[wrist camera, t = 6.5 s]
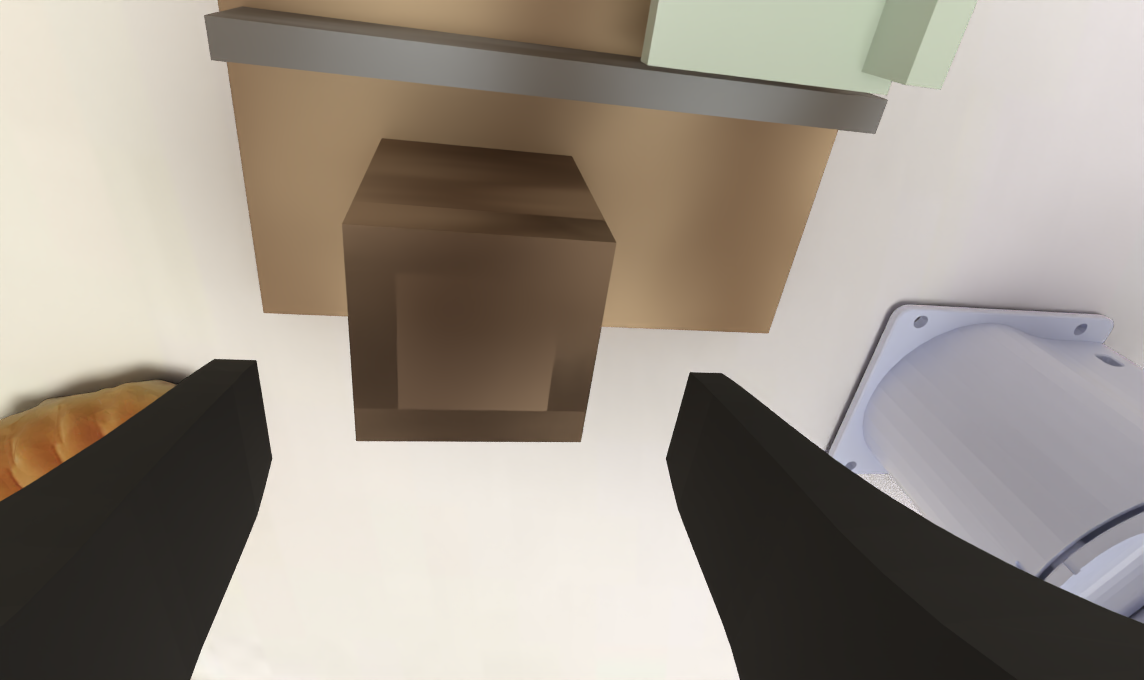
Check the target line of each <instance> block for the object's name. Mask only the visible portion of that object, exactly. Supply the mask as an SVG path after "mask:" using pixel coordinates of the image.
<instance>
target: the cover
mask: <svg viewBox="0 0 1144 680" xmlns="http://www.w3.org/2000/svg"><path fill="white" fill-rule="evenodd" d="M977 1H978V0H651V3H650V9H649V15H648V21H647V26H646V32H645V38H644V44H643V49H642V55H641V62H643V63H645V64H646V65H650V66H658V67H666V68H674V69H682V70H690V71H698V72H706V73H714V74H722V75H730V76H738V77H746V78H754V79H762V80H770V81H778V82H786V83H794V84H802V85H810V86H818V87H826V88H834V89H842V90H850V91H858V92H866V93H874V94H882V95H887V93H888V91H889V88H890V85H891V83H892V81H894V82H897V83H900V84H904V85H909V86H917V87H925V88H932V89H940V90H941V88H942V85H943V83H944V80H945V78H946V76H947V73H948V71H949V68H950V66H951V63H952V61H953V59H954V56H955V54H956V51H957V49H958V47H959V44H960V42H961V39H962V37H963V34H964V32H965V30H966V27H967V25H968V22H969V20H970V18H971V15H972V13H973V10H974V8H975V5H976V3H977Z"/></svg>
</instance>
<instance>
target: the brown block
mask: <svg viewBox="0 0 1144 680" xmlns="http://www.w3.org/2000/svg"><path fill="white" fill-rule="evenodd" d="M342 233H343V248H344V264H345V279H346V294H347V309H348V325H349V340H350V355H351V370H352V386H353V401H354V416H355V431H356V441H456V442H581V438H582V432H583V427H584V421H585V415H586V410H587V404H588V399H589V393H590V388H591V382H592V377H593V371H594V365H595V360H596V354H597V349H598V343H599V338H600V332H601V327H602V321H603V315H604V310H605V304H606V299H607V293H608V288H609V282H610V277H611V271H612V265H613V260H614V254H615V249H616V241H615V239H614V237H613V235H612V233H611V231H610V229H609V227H608V225H607V223H606V221H605V219H604V217H603V215H602V214H601V212H600V210H599V208H598V206H597V204H596V202H595V200H594V198H593V196H592V194H591V192H590V190H589V188H588V186H587V184H586V182H585V180H584V179H583V177H582V175H581V173H580V171H579V169H578V167H577V165H576V163H575V161H574V159H573V157H572V156H566V155H556V154H545V153H534V152H524V151H513V150H503V149H492V148H481V147H471V146H460V145H450V144H439V143H429V142H418V141H407V140H397V139H386V138H382V139H381V141H380V143H379V145H378V147H377V149H376V152H375V154H374V156H373V158H372V160H371V162H370V164H369V167H368V169H367V171H366V173H365V175H364V177H363V180H362V182H361V184H360V186H359V188H358V190H357V193H356V195H355V197H354V199H353V201H352V203H351V206H350V208H349V210H348V212H347V214H346V216H345V218H344V221H343V223H342Z"/></svg>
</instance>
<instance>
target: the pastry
mask: <svg viewBox="0 0 1144 680" xmlns="http://www.w3.org/2000/svg"><path fill="white" fill-rule="evenodd" d="M175 386H176V384H173V383H170V382H166V381H163V380H150V381H141V382H132V383H125V384H122V385H119V386H117V387H114V388H104V389H101V390H99V391H97V392H91V393H85V394H78V395H72V396H62V397H57V398H51V399H46V400H44V401H43V402H41V403H40V404H39V405H38V406H36V407H34V408H32V409H29V410H27V411H24V412H21V413H18V414H15V415H11V416H9V417H6V418H4V419H1V420H0V501H2V500H3V499H5V498H7V497H9V496H10V495H12V494H14V493H15V492H17V491H19V490H20V489H22V488H24V487H25V486H27V485H29V484H30V483H32V482H34V481H35V480H37V479H38V478H40V477H41V476H43V475H44V474H46V473H48V472H49V471H51V470H52V469H54V468H55V467H57V466H59V465H60V464H62V463H63V462H65V461H66V460H68V459H69V458H71V457H73V456H74V455H76V454H77V453H79V452H80V451H82V450H84V449H85V448H87V447H88V446H90V445H91V444H93V443H94V442H96V441H98V440H99V439H101V438H102V437H104V436H105V435H107V434H108V433H109V432H111V431H112V430H114V429H115V428H117V427H118V426H119V425H121V424H122V423H124V422H125V421H127V420H128V419H129V418H131V417H132V416H134V415H135V414H137V413H138V412H139V411H141V410H142V409H144V408H145V407H147V406H148V405H149V404H151V403H152V402H154V401H155V400H157V399H158V398H159V397H161V396H162V395H163V394H165V393H166V392H168V391H169V390H170V389H172V388H173V387H175Z"/></svg>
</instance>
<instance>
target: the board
mask: <svg viewBox="0 0 1144 680" xmlns="http://www.w3.org/2000/svg"><path fill="white" fill-rule="evenodd" d="M650 3H651V0H218V6H219V12H216V13H212V14H208V15H204V17H205V24H206V30H207V36H208V43H209V49H210V55H211V60H215V61H224V62H227V67H228V74H229V81H230V87H231V94H232V101H233V108H234V114H235V121H236V128H237V135H238V142H239V148H240V155H241V162H242V169H243V176H244V182H245V189H246V196H247V203H248V210H249V216H250V223H251V230H252V237H253V244H254V250H255V257H256V264H257V271H258V278H259V284H260V291H261V298H262V305H263V312H264V313H278V314H302V315H327V316H348V309H347V294H346V279H345V264H344V248H343V233H342V223H343V221H344V218H345V216H346V214H347V212H348V210H349V208H350V206H351V203H352V201H353V199H354V197H355V195H356V193H357V190H358V188H359V186H360V184H361V182H362V180H363V177H364V175H365V173H366V171H367V169H368V167H369V164H370V162H371V160H372V158H373V156H374V154H375V152H376V149H377V147H378V145H379V143H380V141H381V139H382V138H386V139H397V140H407V141H418V142H429V143H439V144H450V145H460V146H471V147H481V148H492V149H503V150H513V151H524V152H534V153H545V154H556V155H566V156H572V157H573V159H574V161H575V163H576V165H577V167H578V169H579V171H580V173H581V175H582V177H583V179H584V180H585V182H586V184H587V186H588V188H589V190H590V192H591V194H592V196H593V198H594V200H595V202H596V204H597V206H598V208H599V210H600V212H601V214H602V215H603V217H604V219H605V221H606V223H607V225H608V227H609V229H610V231H611V233H612V235H613V237H614V239H615V241H616V249H615V254H614V260H613V265H612V271H611V277H610V282H609V288H608V293H607V299H606V304H605V310H604V315H603V321H602V327H624V328H649V329H674V330H698V331H723V332H748V333H769V330H770V327H771V324H772V321H773V318H774V315H775V312H776V309H777V307H778V304H779V301H780V298H781V295H782V292H783V289H784V286H785V283H786V280H787V277H788V275H789V272H790V269H791V266H792V263H793V260H794V257H795V254H796V251H797V248H798V245H799V243H800V240H801V237H802V234H803V231H804V228H805V225H806V222H807V219H808V216H809V213H810V211H811V208H812V205H813V202H814V199H815V196H816V193H817V190H818V187H819V184H820V181H821V178H822V176H823V173H824V170H825V167H826V164H827V161H828V158H829V155H830V152H831V149H832V146H833V144H834V141H835V138H836V135H837V132H838V130H845V131H854V132H863V133H872V134H875V133H876V130H877V128H878V125H879V122H880V120H881V117H882V114H883V112H884V109H885V106H886V104H887V101H888V100H887V99H884V98H881V97H878V96H875V95H872V94H870V93H866V92H858V91H850V90H842V89H834V88H826V87H818V86H810V85H802V84H794V83H786V82H778V81H770V80H762V79H754V78H746V77H738V76H730V75H722V74H714V73H706V72H698V71H690V70H682V69H674V68H666V67H658V66H650V65H646V64H645V63H643V62H641V55H642V49H643V44H644V38H645V32H646V26H647V21H648V15H649V9H650Z"/></svg>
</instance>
